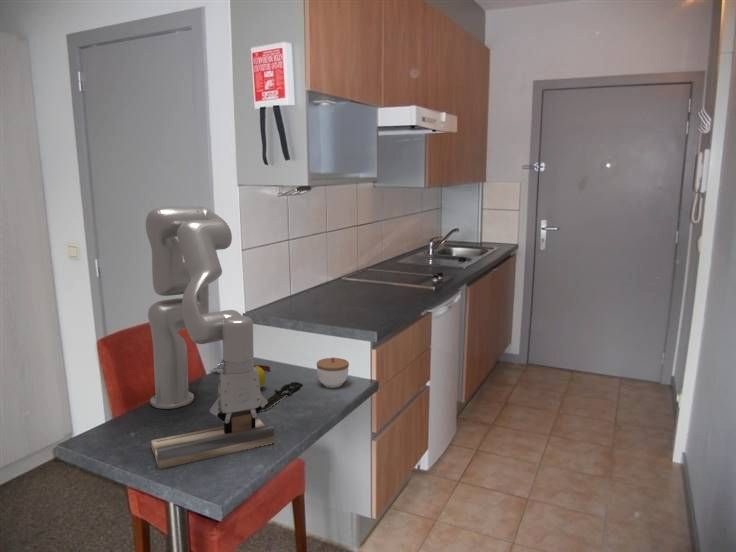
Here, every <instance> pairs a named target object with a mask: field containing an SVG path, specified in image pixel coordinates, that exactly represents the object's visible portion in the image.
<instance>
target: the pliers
mask: <svg viewBox="0 0 736 552" xmlns="http://www.w3.org/2000/svg"><path fill="white" fill-rule="evenodd" d="M255 366H258V367H260V368H262V369H263V370H264V372H267V373H269V372H270V371H271V367H270V366H269V365H262V364H258V365H257V364H256V365H255V364H254V367H255ZM222 370H223V369H218V368H217V367H215V368H213V369H211V370H209V372H211V373H215V372H216V371H217V373H216V374H220V373H221V371H222Z"/></svg>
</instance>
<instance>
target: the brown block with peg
mask: <svg viewBox="0 0 736 552" xmlns="http://www.w3.org/2000/svg"><path fill="white" fill-rule="evenodd" d="M230 422H231V425H232V432H237V431H242V430H247V429H252V419H251V413H250V412H249V410H245V411H240V412H234V413H231V417H230Z"/></svg>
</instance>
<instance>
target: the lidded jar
mask: <svg viewBox="0 0 736 552" xmlns="http://www.w3.org/2000/svg"><path fill="white" fill-rule="evenodd" d="M349 365H350V363H349V361H348V360H347V359H345V358H344V359H343V358H339V357H333V356H332V357H327V358H322V359H319V360H318V361H316V372H317V378H318V379H319V382H320V383H321V384H322V385H323V386H324V387H325V388H327V389H329V388H330V389H335V388H339V387H342V385H343V384H344V383H345V382H346V380H347V378H348V375H349Z"/></svg>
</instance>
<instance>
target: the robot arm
mask: <svg viewBox="0 0 736 552" xmlns="http://www.w3.org/2000/svg"><path fill="white" fill-rule="evenodd" d="M145 230H146V231H145V232H146V235H147V239H148V242H149V245H150V249H151V267H152V268H151V272H152V274H151V275H152V276H151V277H152V287H153V290H154V292H155V293H156V294H157V295H159V296H162V297H169V296H170V297H171V296H178V295H179V296H180V295H183V296H182V297H180V298H179V297H177V298H170V299H164V300H163V299H162V300H159V301H156V302H155V303H153V304H152V305H150V307H149V308H148V312H147V318H148V319H147V320H148V323H149V328H150V331H151V332H150V333H151V338H152V349H153V350H152V351H153V353H152V354H153V370H154V390H155V395H153V396H152V397H151V398H150V400H149V401H150V406H152V407H154V408H155V409H164V410H166V409H168V410H169V409H177V408H182V407H185V406H188V405H190V404H191V403H192V402H194V400H195V394H194V393H193V392H191V391H190V390H189V375H188V374H189V368H188V350H187V349H188V347H187V346H188V345H187V342H186V340H185V338H184V337H182V336H181V334H180V333H179V331H183V330H186V331H187V333H188V335H189V336H188V337H189V338H190V339H191V341H192V342H193V343H195V344H197V345H206V344H210V343H211V344H212V343H215V342H222V359H221V362H220V363H217V364H216V368H218V369H223V370H222V371H221V373H219V379H218V389H217V399H216V400H215V402H214V403H213V404H212V405H211V406H210V409H209V412H210V413H211V414H212V415H213V416H216V417H217V418H218V419H220V420H222V422H223V426H224V433H225V434H227V433H232V425H231V422H230V417H231V413H234V412H240V411H245V410H249V412H250V413H251V419H252V428H255V420H256V419H257V417H258V415H259V413H261V412H260V411H261V409H262V408H264V407H265V405H266V404H267V403H268V401H267V399H266V398H265V397H264V396H263V394H261V387H260V382H259V376H258V371H257V369H256V368H254V365H255V364H254V321H253V319H252V318H250V317H249V316H246V315H242V314H241V313H240V312H239V311H238V310H234V309H227V310H221V311H212V312H209V311H210V309H209V308H210V307H209V306H210V305H209V304H210V302H209V301H210V300H209V296H210V295H209V290H210V289H209V284H211V283H214V282H215V281H216V280H218V279H219V278H220V277H221V276H222V274H223V269H222V265H221V263H220V262H221V261H220V259H219V256H218V254H217V251H218V250H219V251H220V250H226V249H228V248H229V247H230V246H231V244H232V242H233V235H232V231H231V228H230V226H229V225H228V223H227V222H226V221H225V220H224V219H223V218H222V217H220V216H219V215H218V214H216V213H215V212H214V211H212V210H211V209H209V208H207V207H204V206H163V207H162V206H160V207H155V208H153V209H151V210H150V211H148V213H147V215H146V218H145ZM266 406H267V405H266ZM219 408H220V410H221V411H220V410H219Z"/></svg>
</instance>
